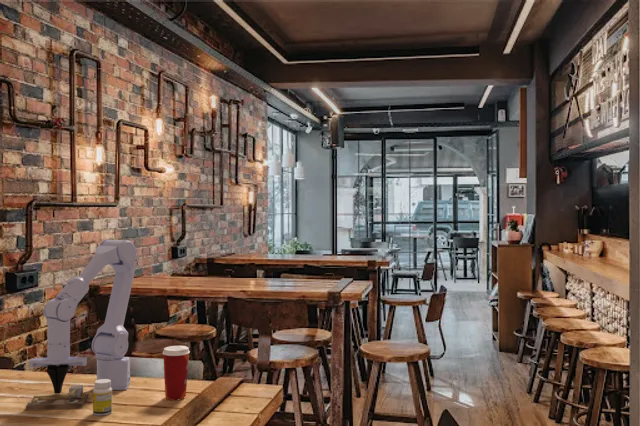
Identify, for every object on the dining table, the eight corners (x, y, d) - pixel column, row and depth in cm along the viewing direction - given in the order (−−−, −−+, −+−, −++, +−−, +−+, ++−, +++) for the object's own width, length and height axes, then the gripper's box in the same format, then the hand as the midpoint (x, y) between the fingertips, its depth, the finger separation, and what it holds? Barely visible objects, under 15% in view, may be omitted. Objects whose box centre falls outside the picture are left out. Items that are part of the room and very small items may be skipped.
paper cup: (194, 397, 175) (195, 348, 175) (171, 403, 170) (172, 352, 170) (179, 391, 180) (179, 343, 181) (156, 397, 175) (156, 347, 175)
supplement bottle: (95, 410, 163) (96, 378, 163) (114, 410, 163) (114, 378, 163) (90, 416, 158) (90, 383, 158) (109, 416, 158) (109, 383, 158)
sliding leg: (82, 394, 172) (83, 384, 172) (77, 401, 165) (77, 392, 165) (71, 394, 171) (71, 385, 171) (65, 402, 164) (65, 392, 164)
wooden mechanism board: (88, 398, 173) (88, 390, 173) (81, 407, 164) (82, 399, 164) (35, 400, 171) (35, 392, 171) (25, 410, 162) (25, 401, 162)
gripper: (26, 346, 164) (25, 397, 164) (83, 345, 166) (82, 395, 166) (33, 341, 171) (32, 390, 171) (88, 339, 173) (87, 388, 173)
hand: (58, 392), depth 169 cm, fingers closed
